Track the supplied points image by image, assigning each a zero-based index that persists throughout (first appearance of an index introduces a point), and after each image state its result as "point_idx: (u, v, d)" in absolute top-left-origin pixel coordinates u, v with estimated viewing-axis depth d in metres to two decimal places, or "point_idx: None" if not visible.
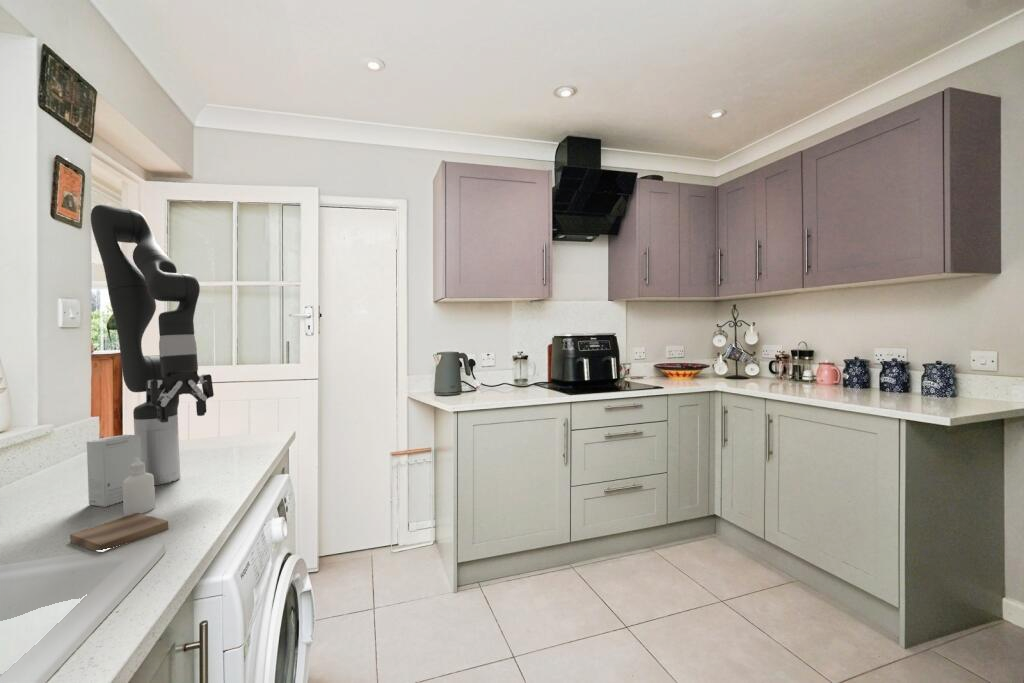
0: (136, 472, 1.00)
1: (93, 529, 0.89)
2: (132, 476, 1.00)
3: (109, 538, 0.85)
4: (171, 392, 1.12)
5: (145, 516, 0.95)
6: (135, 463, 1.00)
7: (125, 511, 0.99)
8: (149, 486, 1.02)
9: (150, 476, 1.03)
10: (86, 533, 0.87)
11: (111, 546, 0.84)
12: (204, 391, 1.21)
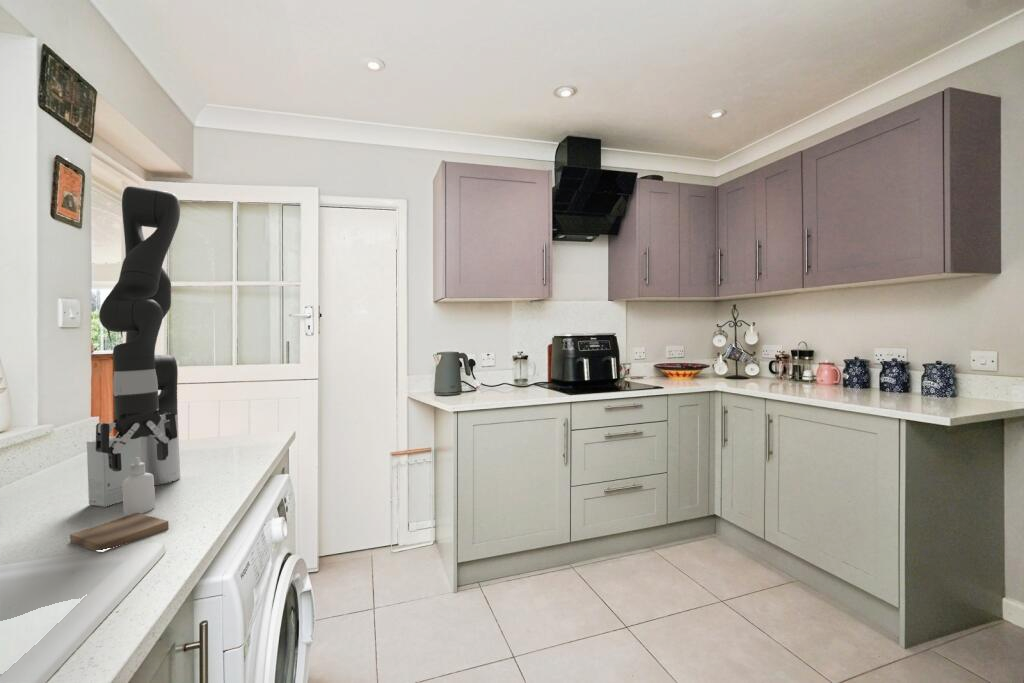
0: (136, 472, 1.00)
1: (93, 529, 0.89)
2: (132, 476, 1.00)
3: (109, 538, 0.85)
4: (125, 436, 0.97)
5: (145, 516, 0.95)
6: (135, 463, 1.00)
7: (125, 511, 0.99)
8: (149, 486, 1.02)
9: (150, 476, 1.03)
10: (86, 533, 0.87)
11: (111, 546, 0.84)
12: (166, 431, 1.07)
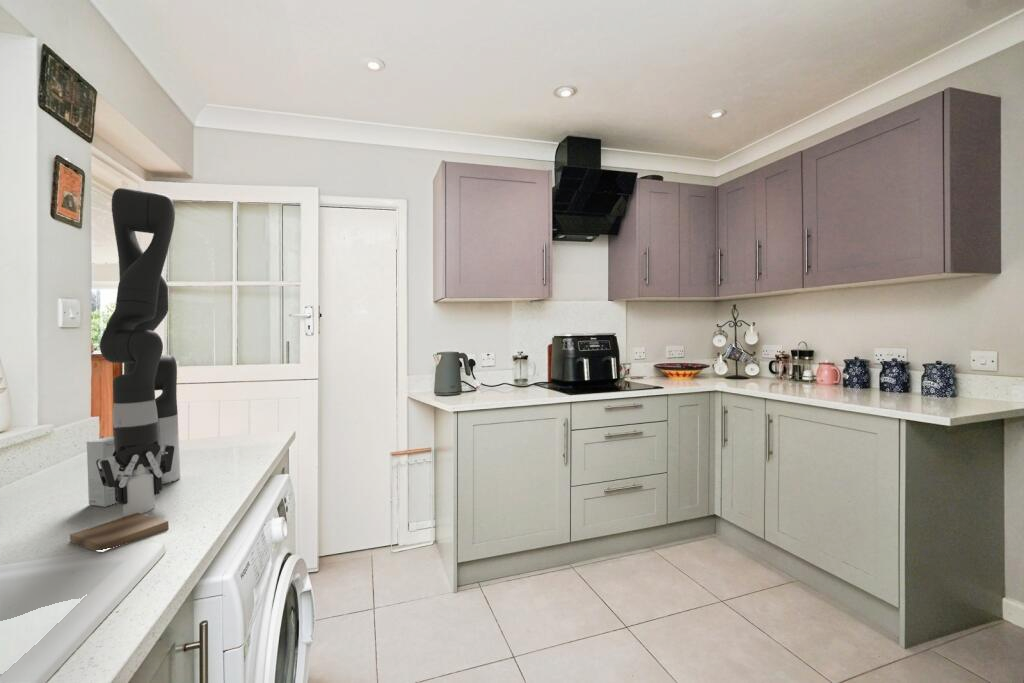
0: (136, 472, 1.00)
1: (93, 529, 0.89)
2: (132, 476, 1.00)
3: (109, 538, 0.85)
4: (128, 469, 0.98)
5: (145, 516, 0.95)
6: None
7: (125, 511, 0.99)
8: (149, 486, 1.02)
9: (150, 476, 1.03)
10: (86, 533, 0.87)
11: (111, 546, 0.84)
12: (161, 464, 1.06)
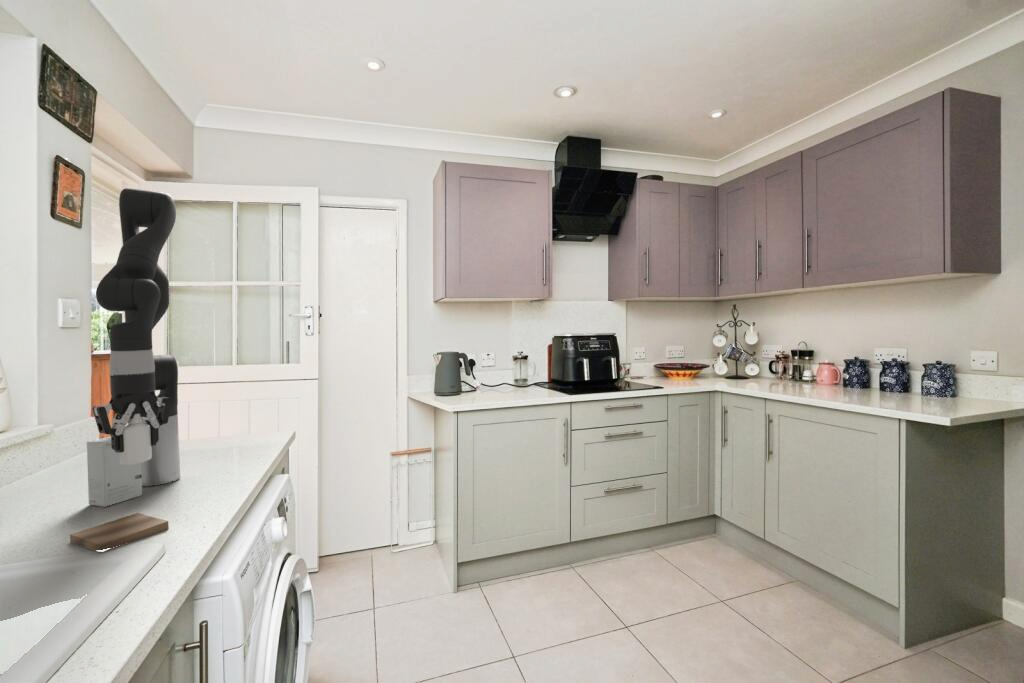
0: (133, 421, 1.00)
1: (93, 529, 0.89)
2: (129, 425, 1.00)
3: (109, 538, 0.85)
4: (124, 418, 0.98)
5: (145, 516, 0.95)
6: None
7: (121, 460, 0.98)
8: (146, 437, 1.02)
9: (147, 426, 1.02)
10: (86, 533, 0.87)
11: (111, 546, 0.84)
12: (158, 416, 1.06)
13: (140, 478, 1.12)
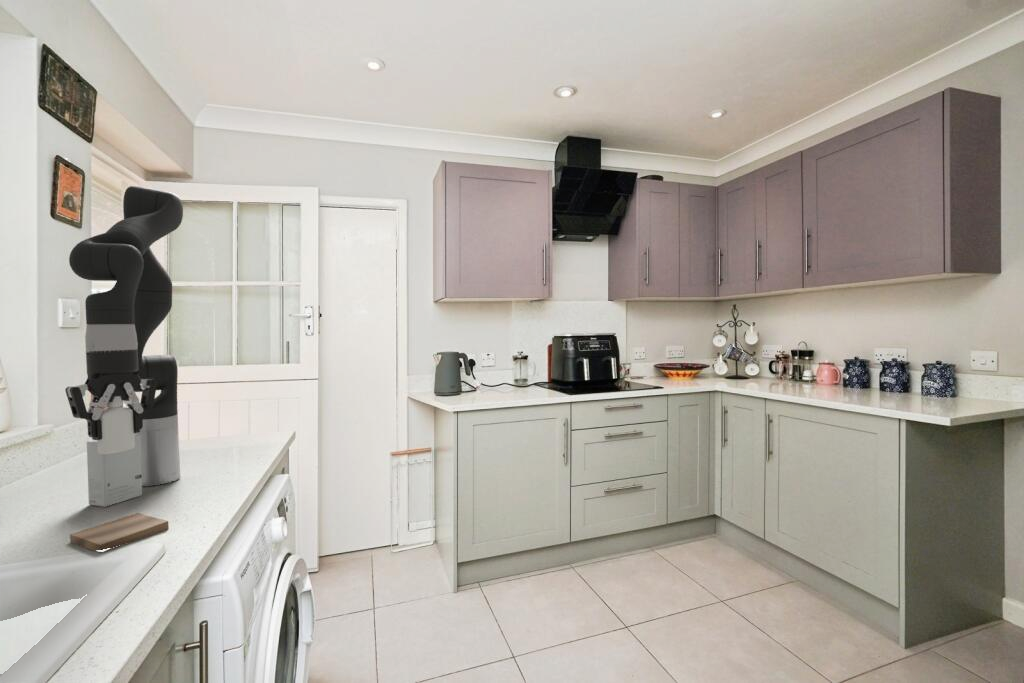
0: (113, 404, 0.88)
1: (93, 529, 0.89)
2: (108, 409, 0.88)
3: (109, 538, 0.85)
4: (102, 400, 0.86)
5: (145, 516, 0.95)
6: None
7: (99, 448, 0.87)
8: (128, 422, 0.90)
9: (129, 411, 0.91)
10: (86, 533, 0.87)
11: (111, 546, 0.84)
12: (142, 400, 0.94)
13: (140, 478, 1.12)
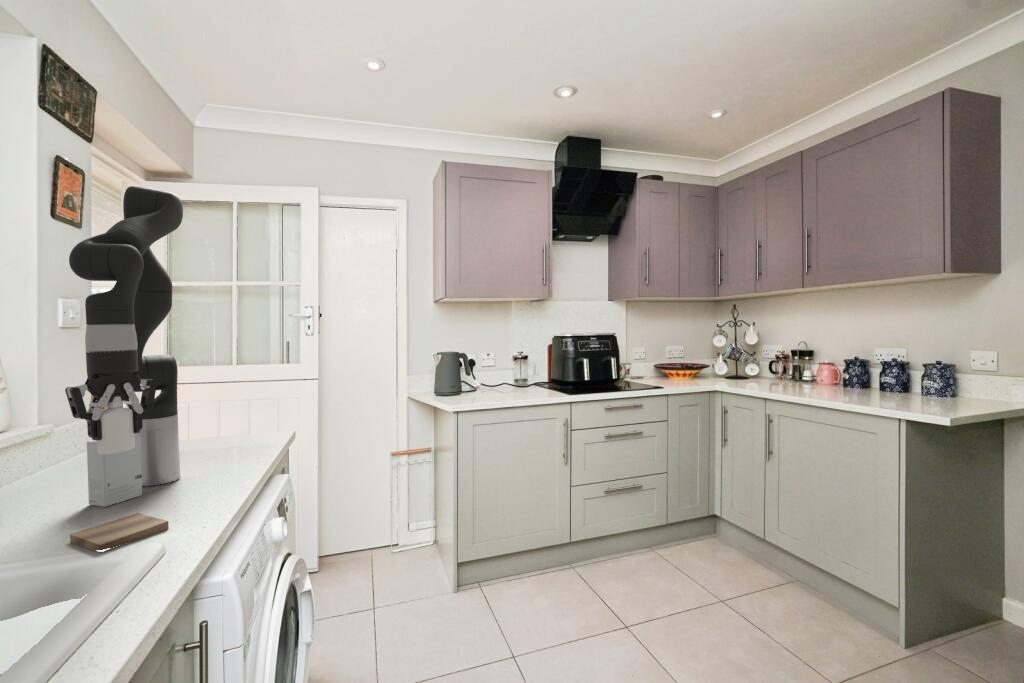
0: (112, 404, 0.88)
1: (93, 529, 0.89)
2: (108, 409, 0.88)
3: (109, 538, 0.85)
4: (102, 400, 0.86)
5: (145, 516, 0.95)
6: None
7: (99, 448, 0.87)
8: (128, 423, 0.90)
9: (129, 411, 0.91)
10: (86, 533, 0.87)
11: (111, 546, 0.84)
12: (142, 400, 0.94)
13: (140, 478, 1.12)
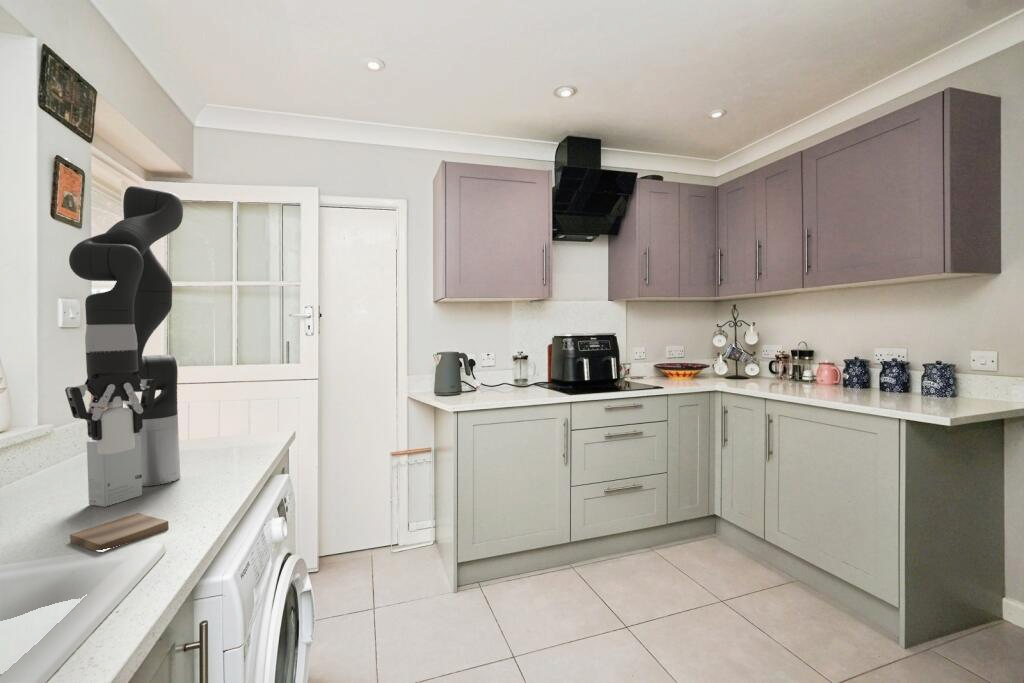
0: (112, 404, 0.88)
1: (93, 529, 0.89)
2: (108, 409, 0.88)
3: (109, 538, 0.85)
4: (102, 400, 0.86)
5: (145, 516, 0.95)
6: None
7: (99, 448, 0.87)
8: (128, 423, 0.90)
9: (129, 411, 0.91)
10: (86, 533, 0.87)
11: (111, 546, 0.84)
12: (142, 400, 0.94)
13: (140, 478, 1.12)
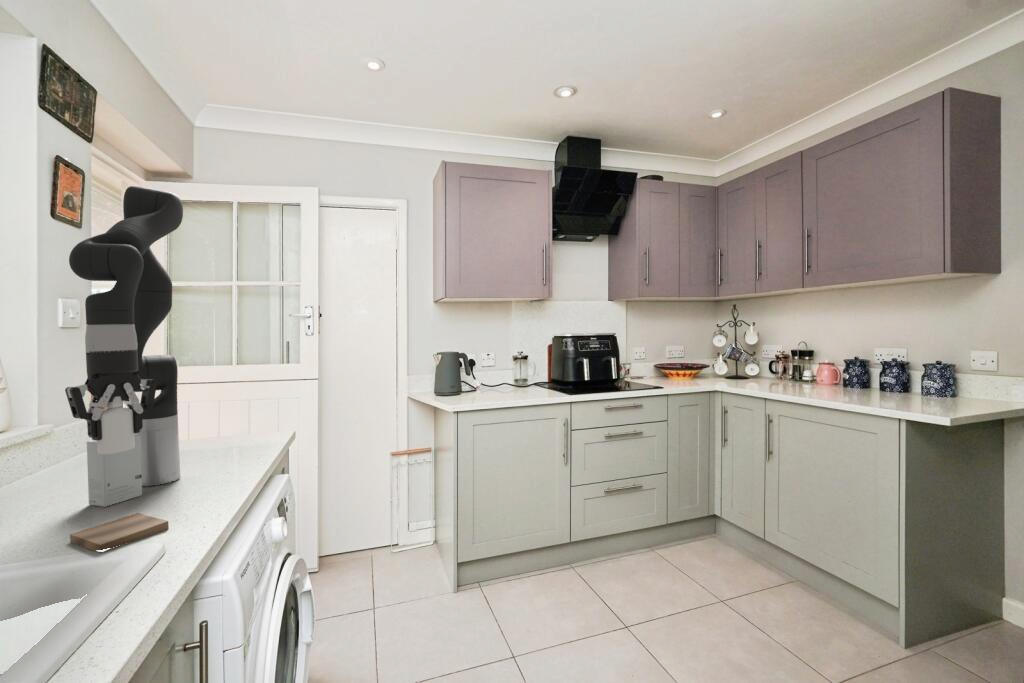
0: (112, 404, 0.88)
1: (93, 529, 0.89)
2: (108, 409, 0.88)
3: (109, 538, 0.85)
4: (102, 400, 0.86)
5: (145, 516, 0.95)
6: None
7: (99, 448, 0.87)
8: (128, 423, 0.90)
9: (129, 411, 0.91)
10: (86, 533, 0.87)
11: (111, 546, 0.84)
12: (142, 400, 0.94)
13: (140, 478, 1.12)
